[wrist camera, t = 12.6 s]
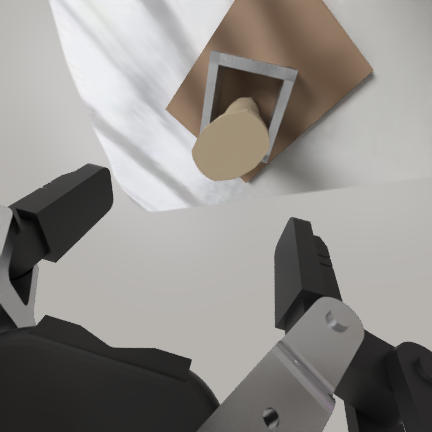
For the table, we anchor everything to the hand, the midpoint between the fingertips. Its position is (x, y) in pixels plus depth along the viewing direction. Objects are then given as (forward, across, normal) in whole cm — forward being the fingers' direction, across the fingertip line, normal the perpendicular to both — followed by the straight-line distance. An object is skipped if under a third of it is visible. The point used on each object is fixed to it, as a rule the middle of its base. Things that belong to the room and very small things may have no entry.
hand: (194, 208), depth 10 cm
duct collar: (+26, 0, 0) cm, 26 cm away
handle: (+25, 0, +1) cm, 25 cm away
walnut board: (+26, -1, -2) cm, 26 cm away
